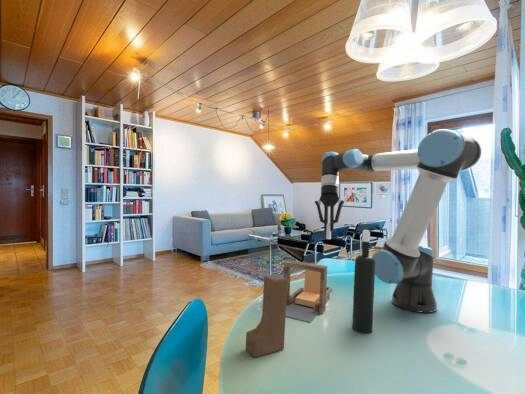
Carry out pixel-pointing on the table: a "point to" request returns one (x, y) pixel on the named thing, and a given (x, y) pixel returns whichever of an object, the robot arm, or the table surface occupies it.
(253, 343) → the wooden block
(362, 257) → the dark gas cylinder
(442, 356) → the table surface
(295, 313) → the felt mat
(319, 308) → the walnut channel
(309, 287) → the tan l-shaped block
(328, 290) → the pad
